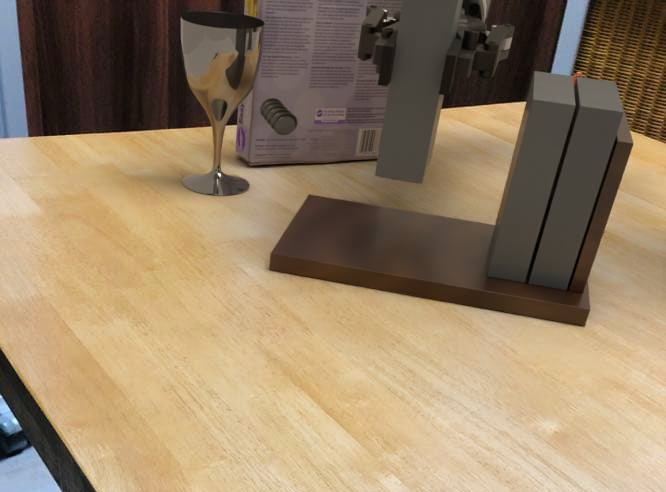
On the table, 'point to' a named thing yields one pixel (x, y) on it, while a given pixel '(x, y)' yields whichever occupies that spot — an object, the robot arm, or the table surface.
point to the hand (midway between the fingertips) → (416, 70)
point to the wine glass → (220, 80)
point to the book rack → (437, 251)
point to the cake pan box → (312, 85)
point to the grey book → (416, 88)
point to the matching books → (554, 178)
